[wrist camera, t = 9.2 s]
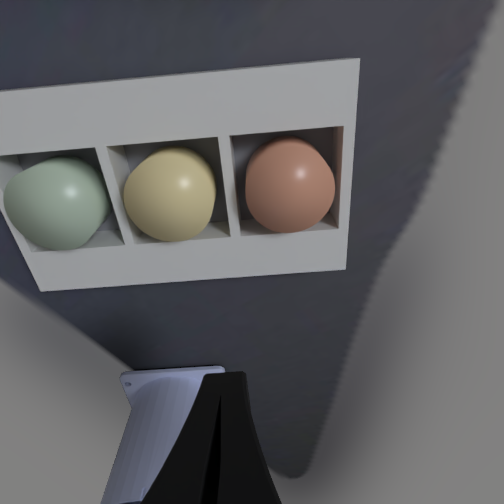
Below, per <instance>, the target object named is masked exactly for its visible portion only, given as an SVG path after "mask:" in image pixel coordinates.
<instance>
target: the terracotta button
mask: <svg viewBox="0 0 504 504" xmlns="http://www.w3.org/2000/svg"><path fill="white" fill-rule="evenodd" d="M245 194H246V202H247V205H248V208H249V210H250V212H251V214H252V215H253V217H254V218H255V219H256V220H257V221H258V222H259V223H260V224H261V225H263V226H264V227H266V228H268V229H270V230H273V231H276V232H280V233H295V232H299V231H303V230H306V229H308V228H310V227H312V226H313V225H315V224H316V223H318V222H319V221H320V220H321V219H322V218H323V217H324V216H325V215H326V213H327V212H328V210H329V209H330V207H331V205H332V202H333V199H334V194H335V182H334V177H333V174H332V172H331V169H330V168H329V166H328V165H327V163H326V162H325V160H324V159H323V158H322V156H321V155H320V154H319V152H318V151H317V149H316V148H315V147H314V146H313V145H312V144H310V143H309V142H307V141H306V140H304V139H301V138H298V137H295V136H280V137H276V138H273V139H270V140H268V141H266V142H265V143H263V144H262V145H261V146H259V147H258V148H257V149H256V151H255V152H254V153H253V155H252V156H251V158H250V160H249V162H248V165H247V169H246V188H245Z"/></svg>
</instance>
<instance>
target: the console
mask: <svg viewBox="0 0 504 504" xmlns="http://www.w3.org/2000/svg"><path fill="white" fill-rule="evenodd" d="M359 67H360V58H338V59H327V60H316V61H306V62H295V63H284V64H274V65H263V66H252V67H241V68H231V69H220V70H209V71H199V72H188V73H177V74H167V75H156V76H145V77H134V78H124V79H113V80H102V81H92V82H81V83H70V84H60V85H49V86H38V87H28V88H17V89H6V90H0V210H1V212H2V214H3V216H4V218H5V220H6V222H7V224H8V226H9V228H10V230H11V232H12V234H13V236H14V238H15V240H16V242H17V244H18V246H19V248H20V250H21V252H22V254H23V256H24V258H25V260H26V262H27V264H28V266H29V268H30V271H31V273H32V275H33V277H34V279H35V281H36V283H37V285H38V287H39V289H40V291H55V290H68V289H82V288H96V287H110V286H123V285H137V284H151V283H165V282H178V281H192V280H206V279H220V278H233V277H247V276H261V275H275V274H288V273H302V272H316V271H330V270H343V269H346V256H347V241H348V227H349V212H350V198H351V183H352V168H353V154H354V139H355V125H356V110H357V96H358V81H359ZM280 136H295V137H298V138H301V139H304V140H306V141H307V142H309V143H310V144H312V145H313V146H314V147H315V148H316V149H317V151H318V152H319V154H320V155H321V156H322V158H323V159H324V160H325V162H326V163H327V165H328V166H329V168H330V169H331V172H332V174H333V177H334V182H335V194H334V199H333V202H332V205H331V207H330V209H329V210H328V212H327V213H326V215H325V216H324V217H323V218H322V219H321V220H320V221H319V222H318V223H316V224H315V225H313V226H312V227H310V228H308V229H306V230H303V231H299V232H295V233H280V232H276V231H273V230H270V229H268V228H266V227H264V226H263V225H261V224H260V223H259V222H258V221H257V220H256V219H255V218H254V217H253V215H252V214H251V212H250V210H249V208H248V205H247V202H246V194H245V188H246V169H247V165H248V162H249V160H250V158H251V156H252V155H253V153H254V152H255V151H256V149H257V148H258V147H259V146H261V145H262V144H263V143H265V142H266V141H268V140H270V139H273V138H276V137H280ZM165 146H182V147H186V148H189V149H191V150H193V151H195V152H197V153H198V154H200V155H201V156H202V157H203V158H204V159H205V160H206V161H207V162H208V163H209V164H210V166H211V167H212V169H213V171H214V174H215V177H216V181H217V193H216V198H215V202H214V207H213V211H212V215H211V218H210V221H209V222H208V224H207V226H206V227H205V228H204V229H203V230H202V231H201V232H200V233H199V234H198V235H196V236H194V237H193V238H190V239H188V240H184V241H179V242H169V241H162V240H159V239H156V238H153V237H151V236H149V235H148V234H146V233H144V232H143V231H142V230H140V229H139V228H138V227H137V226H136V225H135V224H134V222H133V221H132V220H131V218H130V217H129V215H128V213H127V210H126V208H125V204H124V187H125V184H126V181H127V179H128V177H129V175H130V174H131V173H132V172H133V170H134V169H135V168H136V167H137V166H138V165H139V164H140V163H141V162H142V161H143V160H144V159H145V158H146V157H147V156H148V155H150V154H151V153H152V152H153V151H155V150H157V149H159V148H162V147H165ZM58 155H67V156H73V157H77V158H79V159H82V160H84V161H86V162H88V163H89V164H91V165H92V166H94V167H95V168H96V169H97V170H98V171H99V172H100V173H101V174H102V175H103V176H104V178H105V181H106V185H107V188H108V191H109V194H110V198H111V201H112V204H113V205H112V210H111V212H110V214H109V216H108V218H107V219H106V220H105V221H104V222H103V223H102V225H101V226H100V227H99V228H98V229H97V230H96V231H95V233H94V234H93V235H92V236H91V237H90V238H89V240H88V241H87V242H85V243H84V244H83V245H81V246H80V247H77V248H75V249H71V250H53V249H48V248H45V247H42V246H40V245H37V244H35V243H34V242H32V241H30V240H29V239H27V238H26V237H25V236H23V235H22V234H21V233H20V232H19V231H18V230H17V229H16V228H15V227H14V226H13V224H12V223H11V221H10V220H9V218H8V216H7V214H6V211H5V208H4V202H3V194H4V190H5V187H6V185H7V183H8V182H9V181H10V179H11V178H12V177H14V176H15V175H16V174H18V173H20V172H22V171H24V170H26V169H28V168H30V167H32V166H34V165H36V164H38V163H40V162H42V161H44V160H46V159H48V158H50V157H53V156H58Z"/></svg>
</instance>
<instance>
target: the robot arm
mask: <svg viewBox="0 0 504 504" xmlns="http://www.w3.org/2000/svg"><path fill="white" fill-rule="evenodd" d="M120 381H121V384H122V386H123V389H124V391H125V393H126V396H127V398H128V401H129V403H130V405H131V408H132V410H131V413H130V416H129V419H128V422H127V425H126V428H125V431H124V434H123V437H122V440H121V443H120V446H119V449H118V452H117V455H116V458H115V461H114V464H113V467H112V470H111V473H110V476H109V480H108V482H107V485H106V488H105V492H104V495H103V498H102V501H101V504H282V503H281V501H280V498H279V496H278V493H277V491H276V489H275V486H274V484H273V481H272V478H271V476H270V473H269V470H268V467H267V464H266V462H265V459H264V456H263V453H262V450H261V447H260V444H259V440H258V437H257V433H256V430H255V426H254V423H253V419H252V415H251V407H250V400H249V392H248V385H247V377H246V373H244V372H243V371H240V372H225V370H224V368H223V367H221V366H205V367H190V368H174V369H159V370H143V371H127V372H123V373H122V374H121V376H120Z"/></svg>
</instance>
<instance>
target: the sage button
mask: <svg viewBox="0 0 504 504" xmlns="http://www.w3.org/2000/svg"><path fill="white" fill-rule="evenodd" d="M3 202H4V208H5V211H6V214H7V216H8V218H9V220H10V221H11V223H12V224H13V226H14V227H15V228H16V229H17V230H18V231H19V232H20V233H21V234H22V235H23V236H25V237H26V238H27V239H29V240H30V241H32V242H34V243H35V244H37V245H40V246H42V247H45V248H48V249H53V250H71V249H75V248H77V247H80V246H81V245H83V244H84V243H85V242H87V241H88V240H89V238H90V237H91V236H92V235H93V234H94V233H95V231H96V230H97V229H98V228H99V227H100V226H101V225H102V223H103V222H104V221H105V220H106V219H107V218H108V216H109V214H110V212H111V210H112V205H113V204H112V201H111V198H110V194H109V191H108V188H107V185H106V181H105V178H104V176H103V175H102V174H101V173H100V172H99V171H98V170H97V169H96V168H95V167H94V166H92V165H91V164H89V163H88V162H86V161H84V160H82V159H79V158H77V157H73V156H67V155H58V156H53V157H50V158H48V159H46V160H44V161H42V162H40V163H38V164H36V165H34V166H32V167H30V168H28V169H26V170H24V171H22V172H20V173H18V174H16V175H15V176H14V177H12V178H11V179H10V181H9V182H8V183H7V185H6V187H5V190H4V194H3Z"/></svg>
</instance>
